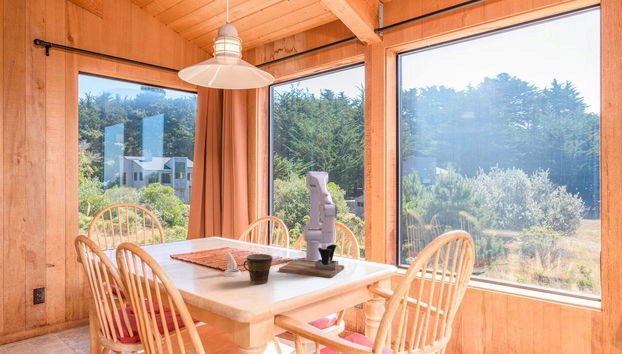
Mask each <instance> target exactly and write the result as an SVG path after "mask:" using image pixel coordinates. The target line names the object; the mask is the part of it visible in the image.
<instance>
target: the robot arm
mask: <svg viewBox="0 0 622 354" xmlns="http://www.w3.org/2000/svg"><path fill="white" fill-rule="evenodd" d="M305 177H306V178H305V183H306V184H305V186H306V188H307V189H308V190H309V222H308V223H306V224H305V225H304V227H303V234H302V236H303V240H304V242H306V252H305V253H306V255H305V256H306V257H305V258H303V260H302V261H307V262H316V261H317V260H322V264H323V265H328V262H329V258H330V260H331V261H333V259H334V253H335V250H336V248H337V244H336V242H335V238H336V237H335V231H336V230H335V229H336V225H335V224H336V218H337V216H338V207H337V204H336V203H335V202H333V199H332V195H331V193H330V192H328V189H327V184H328V183H329V174H328V172H327V171H310V170H308V171H307V172H306V176H305ZM320 221H321V222H320Z"/></svg>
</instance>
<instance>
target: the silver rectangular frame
mask: <svg viewBox="0 0 622 354" xmlns="http://www.w3.org/2000/svg"><path fill="white" fill-rule="evenodd" d="M338 265H339V260H332V261H331V260H330V263H328V265H323V264H322V260H317V261H316V262H315V269H321V270H332V271H336V270H337V269H338Z"/></svg>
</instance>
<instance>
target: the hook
mask: <svg viewBox="0 0 622 354" xmlns="http://www.w3.org/2000/svg"><path fill="white" fill-rule="evenodd" d="M225 257H226V258H227V260H228V263H227V265H226V267H227V269H226V270H224V272H223V276H224V277H228V278H236V277H240V276H242V275H243V274H242V271H241V270H240V269H238V264H237V262H236V260H235V258H234V256H233V254H232V253H231V252H229V251H227V252H225Z"/></svg>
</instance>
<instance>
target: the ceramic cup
mask: <svg viewBox="0 0 622 354" xmlns="http://www.w3.org/2000/svg"><path fill="white" fill-rule="evenodd" d="M272 263H273V255H270V254H268V253H267V254H265V253H254V254H249V255H247V256H246V260H244V262H243V268H244V269H246V270H247V272H248V274H249V280H250V284H253V285H264V284H267V283H268V281H269V275H270V269H271V267H272ZM246 264H247V267H246Z"/></svg>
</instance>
